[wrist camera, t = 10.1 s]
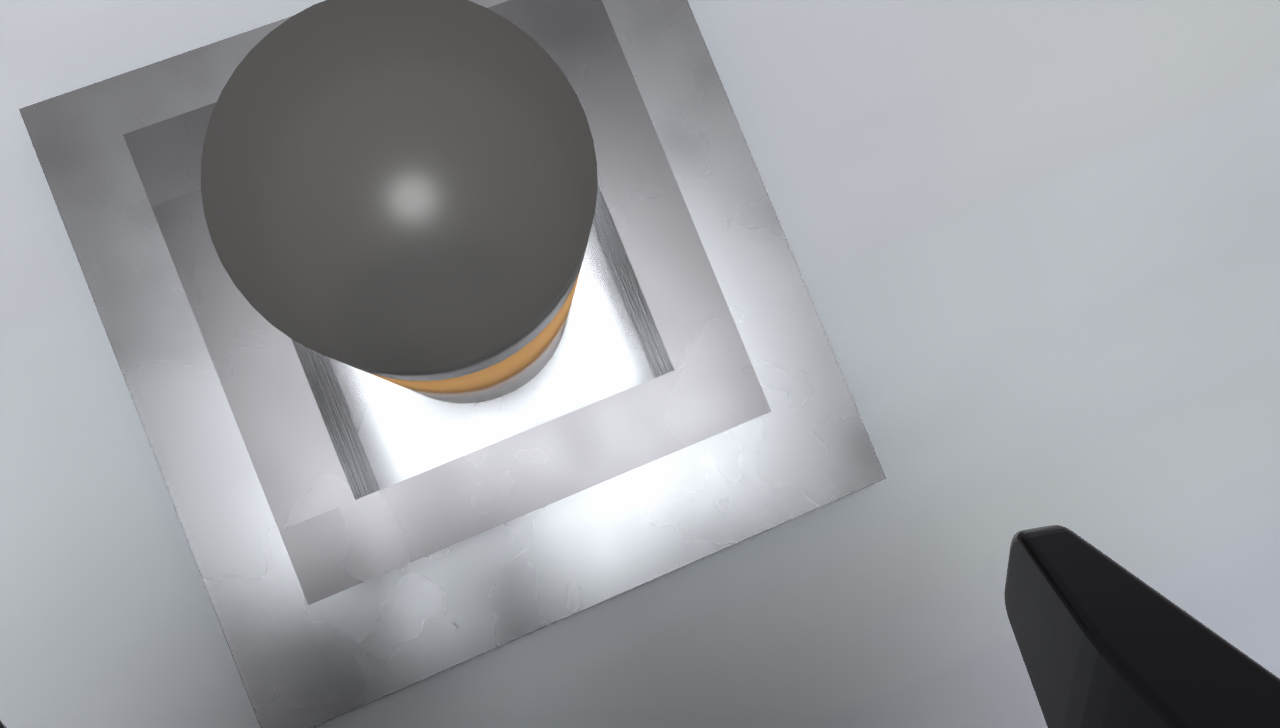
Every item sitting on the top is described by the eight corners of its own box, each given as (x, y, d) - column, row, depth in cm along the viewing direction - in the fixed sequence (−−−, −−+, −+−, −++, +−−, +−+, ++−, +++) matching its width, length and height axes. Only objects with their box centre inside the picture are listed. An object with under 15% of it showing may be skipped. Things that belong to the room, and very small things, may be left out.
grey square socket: (870, 476, 23) (941, 484, 19) (280, 731, 21) (222, 799, 17) (639, -81, 23) (661, -188, 19) (42, 124, 22) (-69, 52, 18)
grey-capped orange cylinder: (549, 420, 21) (562, 401, 11) (340, 383, 21) (162, 332, 11) (585, 218, 22) (627, 31, 12) (381, 180, 21) (244, -50, 11)
